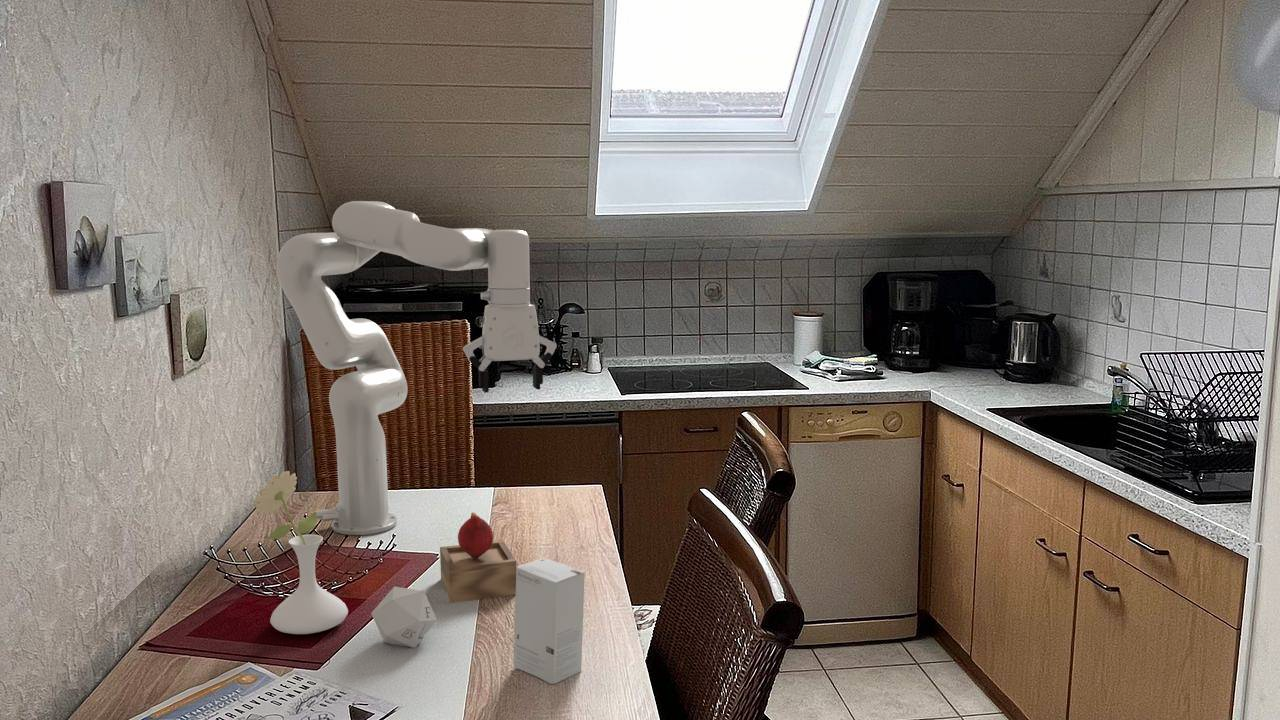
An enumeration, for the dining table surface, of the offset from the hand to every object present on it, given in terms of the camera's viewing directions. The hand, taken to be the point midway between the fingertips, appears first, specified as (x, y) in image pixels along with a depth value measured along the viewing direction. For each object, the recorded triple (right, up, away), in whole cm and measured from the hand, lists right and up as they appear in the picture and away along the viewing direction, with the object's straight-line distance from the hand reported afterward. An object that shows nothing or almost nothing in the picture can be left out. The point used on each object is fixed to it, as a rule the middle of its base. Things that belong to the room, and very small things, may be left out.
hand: (511, 389), depth 185 cm
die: (-11, -36, -37) cm, 53 cm away
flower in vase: (-27, -36, -32) cm, 55 cm away
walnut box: (-4, -33, -16) cm, 37 cm away
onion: (-4, -28, -16) cm, 33 cm away
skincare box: (+11, -38, -46) cm, 61 cm away
